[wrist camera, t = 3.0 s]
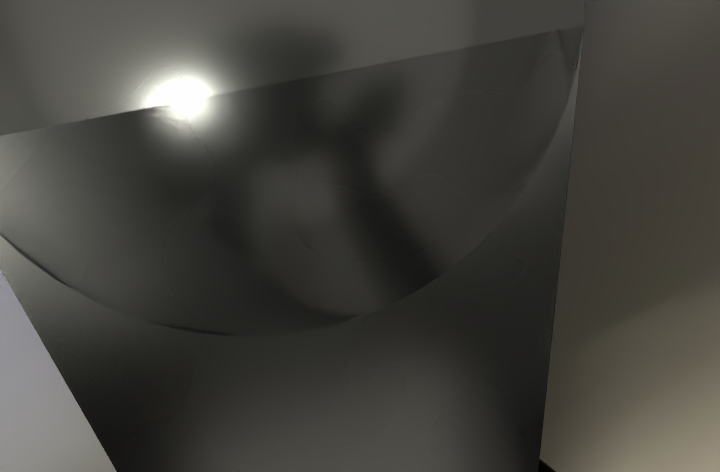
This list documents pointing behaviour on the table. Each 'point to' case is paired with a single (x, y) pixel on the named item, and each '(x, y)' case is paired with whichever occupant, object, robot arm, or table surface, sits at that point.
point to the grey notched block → (292, 224)
